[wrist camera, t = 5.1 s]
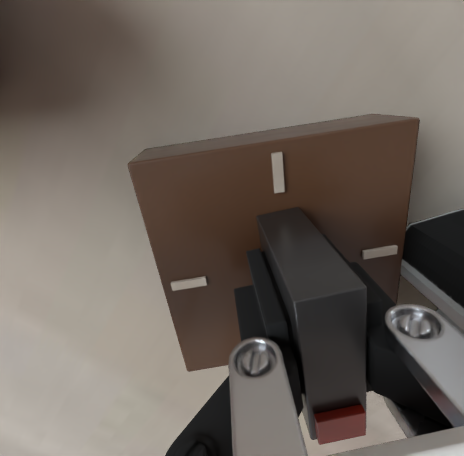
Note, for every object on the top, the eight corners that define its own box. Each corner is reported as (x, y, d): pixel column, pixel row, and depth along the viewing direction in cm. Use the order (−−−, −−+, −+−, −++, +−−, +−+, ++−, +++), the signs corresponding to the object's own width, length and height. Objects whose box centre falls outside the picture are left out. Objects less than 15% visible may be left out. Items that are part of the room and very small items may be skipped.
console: (144, 148, 12) (124, 164, 9) (373, 113, 12) (424, 117, 10) (190, 327, 16) (187, 375, 14) (362, 298, 17) (395, 340, 14)
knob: (255, 215, 11) (296, 309, 6) (298, 205, 11) (374, 293, 6) (273, 318, 13) (313, 450, 8) (309, 310, 13) (371, 438, 8)
